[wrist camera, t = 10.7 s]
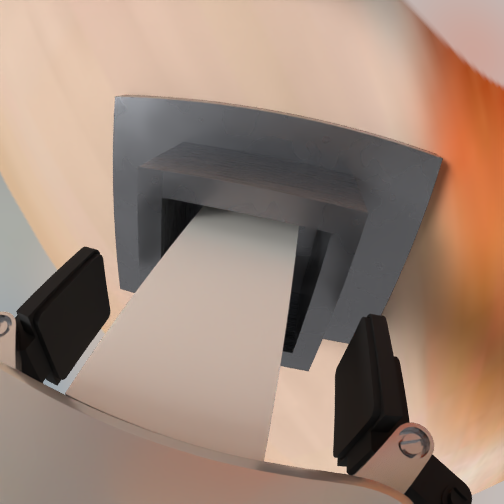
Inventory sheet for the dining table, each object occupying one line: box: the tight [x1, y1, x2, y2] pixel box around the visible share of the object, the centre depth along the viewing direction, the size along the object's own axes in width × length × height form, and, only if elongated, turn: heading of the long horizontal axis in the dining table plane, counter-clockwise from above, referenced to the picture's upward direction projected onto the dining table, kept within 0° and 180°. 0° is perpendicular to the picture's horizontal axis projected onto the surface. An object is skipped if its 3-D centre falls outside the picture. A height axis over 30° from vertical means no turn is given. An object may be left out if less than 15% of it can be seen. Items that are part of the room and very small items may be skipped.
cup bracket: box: [113, 95, 442, 371], centre depth 15 cm, size 16×12×6 cm
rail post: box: [65, 206, 299, 461], centre depth 11 cm, size 4×4×12 cm
